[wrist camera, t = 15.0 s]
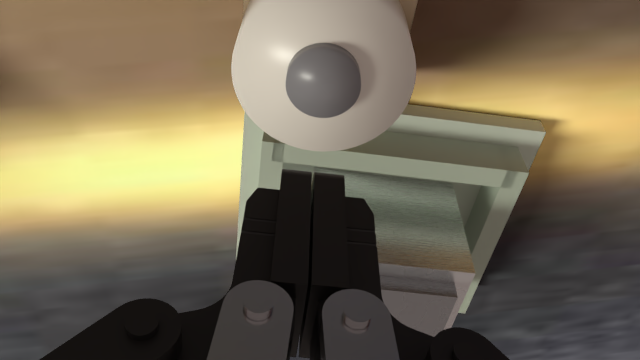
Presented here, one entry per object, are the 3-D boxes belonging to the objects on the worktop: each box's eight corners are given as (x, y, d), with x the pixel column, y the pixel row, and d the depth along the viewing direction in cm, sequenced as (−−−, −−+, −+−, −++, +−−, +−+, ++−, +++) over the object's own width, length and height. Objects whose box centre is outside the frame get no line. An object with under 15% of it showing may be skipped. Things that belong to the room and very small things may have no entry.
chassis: (467, 285, 35) (477, 326, 33) (237, 261, 34) (230, 301, 32) (540, 120, 28) (559, 157, 25) (248, 84, 27) (240, 119, 24)
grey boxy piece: (427, 252, 32) (446, 359, 27) (302, 238, 31) (295, 344, 26) (452, 183, 29) (479, 288, 23) (313, 167, 28) (309, 270, 23)
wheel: (382, 74, 26) (395, 170, 20) (249, 57, 25) (225, 150, 20) (413, -64, 22) (440, 8, 17) (258, -87, 22) (232, -21, 16)
